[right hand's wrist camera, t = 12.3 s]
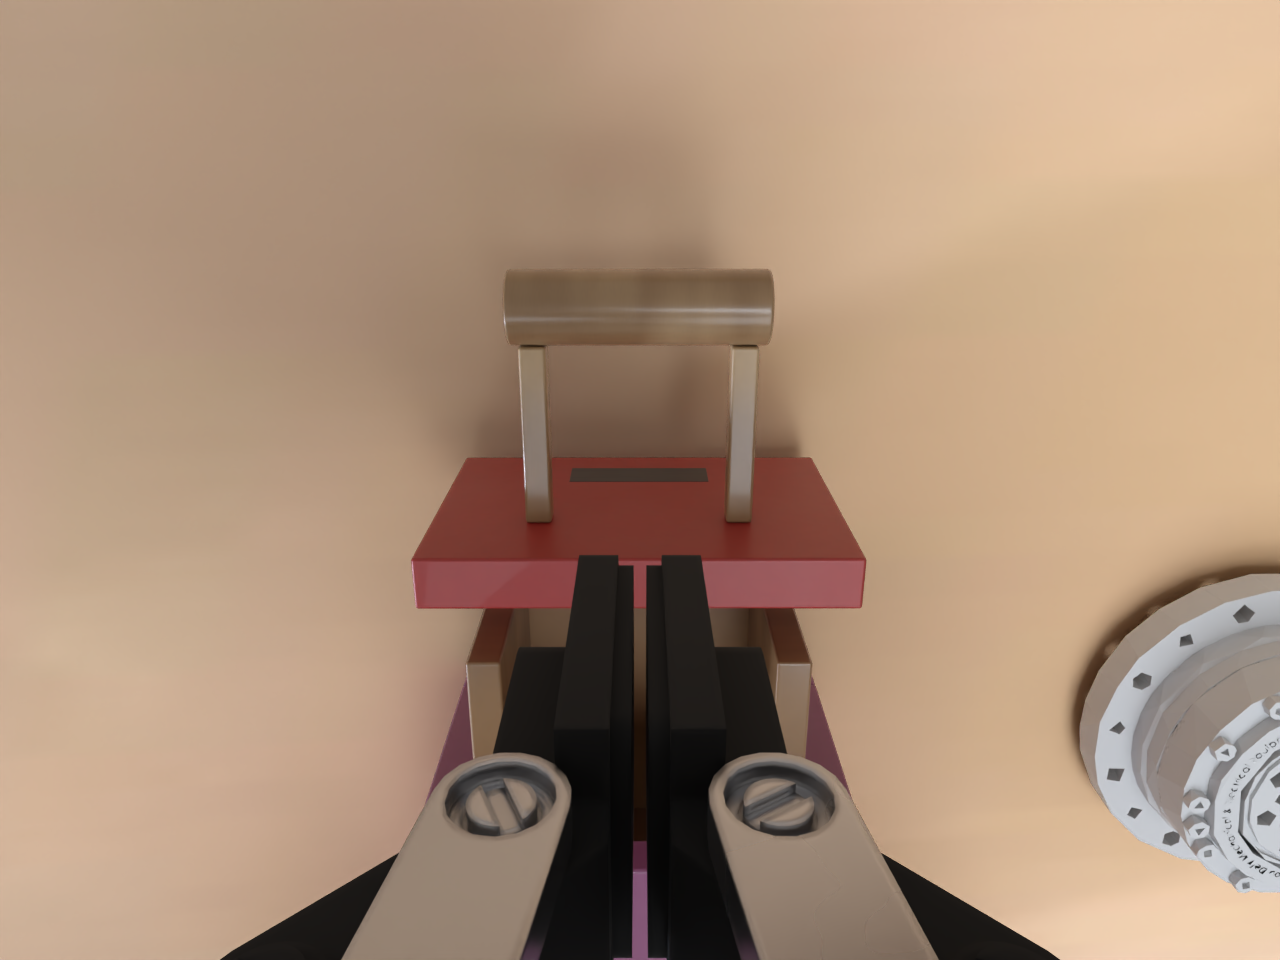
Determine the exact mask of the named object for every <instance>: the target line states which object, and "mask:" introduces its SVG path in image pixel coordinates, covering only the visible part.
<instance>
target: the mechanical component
mask: <svg viewBox="0 0 1280 960" xmlns="http://www.w3.org/2000/svg"><path fill="white" fill-rule="evenodd" d="M1080 751H1081V754H1082V758H1083V761H1084V764H1085V767H1086V770H1087V773H1088V776H1089V779H1090V782H1091V784H1092V786H1093V787H1094V789H1095V790H1096V792H1097V793H1098V794H1099V796H1100V797H1101V799H1102V800H1103V802H1104V803H1105V805H1106V806H1107V808H1108V809H1109V811H1110V812H1111V814H1113V815H1114V816H1115V817H1116V818H1117V819H1118V820H1119V821H1120V822H1121V823H1122V824H1123V825H1124V826H1125V827H1126V828H1127V829H1128V830H1129V831H1130V832H1131V833H1132V834H1133V835H1134V836H1135V837H1136V838H1137V839H1138V840H1140V841H1142V842H1144V843H1146V844H1149V845H1151V846H1153V847H1156V848H1158V849H1160V850H1162V851H1165V852H1167V853H1169V854H1171V855H1174V856H1176V857H1178V858H1181V859H1189V860H1198V861H1200V862H1201V863H1202V864H1203V865H1204V866H1205V868H1206V869H1207V870H1208V871H1210V872H1211V873H1213V874H1215V875H1216V876H1218V877H1219V878H1221V879H1223V880H1224V881H1226V882H1228V883H1231V884H1232V885H1233V886H1234V888H1235V889H1236V890H1237V891H1238V892H1242V893H1247V892H1249V891H1251V890H1254V891H1257V892H1280V574H1249V575H1245V576H1242V577H1238V578H1234V579H1230V580H1227V581H1223V582H1219V583H1215V584H1211V585H1208V586H1204V587H1200V588H1198V589H1196V590H1194V591H1192V592H1191V593H1189V594H1187V595H1185V596H1183V597H1181V598H1179V599H1177V600H1175V601H1173V602H1172V603H1170V604H1168V605H1166V606H1164V607H1162V608H1160V609H1158V610H1157V611H1156V612H1155V613H1154V614H1152V615H1151V616H1150V617H1149V618H1147V619H1146V620H1145V621H1144V622H1142V623H1141V624H1140V625H1139V626H1137V627H1136V628H1135V629H1134V630H1132V631H1131V632H1130V633H1129V634H1127V635H1126V636H1125V637H1124V639H1123V640H1122V641H1121V642H1120V644H1119V645H1118V646H1117V648H1116V649H1115V650H1114V651H1113V653H1112V654H1111V655H1110V657H1109V658H1108V659H1107V661H1106V662H1105V663H1104V664H1103V666H1102V667H1101V668H1100V670H1099V671H1098V673H1097V676H1096V678H1095V680H1094V682H1093V684H1092V686H1091V689H1090V691H1089V693H1088V695H1087V697H1086V699H1085V704H1084V708H1083V713H1082V718H1081V722H1080Z"/></svg>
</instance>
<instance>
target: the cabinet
mask: <svg viewBox="0 0 1280 960" xmlns="http://www.w3.org/2000/svg"><path fill="white" fill-rule="evenodd" d="M805 759H807V760H810V761H812V762H814V763H817V764H819V765H821V766H822V767H824V768H825V769H827V770H828V771H829V772H831V773H832V774H834V775H835V776H836V777H837V778H838V780H839V781H840V782H841V783H842V785H843V786H844V787H845V788H846V790H847V792H848V793H849V795H850V792H849V789H848V785H847V782H846V779H845V776H844V773H843V770H842V767H841V764H840V761H839V758H838V754H837V751H836V748H835V745H834V742H833V739H832V736H831V733H830V730H829V727H828V723H827V720H826V717H825V714H824V711H823V708H822V705H821V702H820V699H819V695H818V692H817V689H816V686H815V684H814V681H813V678H812V675H811V688H810V701H809V715H808V728H807V741H806V754H805ZM470 760H473V752H472V739H471V727H470V714H469V701H468V688H467V677H466V680H465V683H464V687H463V689H462V692H461V695H460V698H459V701H458V704H457V707H456V711H455V714H454V717H453V720H452V723H451V726H450V729H449V732H448V735H447V738H446V741H445V744H444V747H443V751H442V754H441V757H440V760H439V763H438V766H437V769H436V772H435V775H434V778H433V781H432V784H431V788H430V791H429V794H428V797H427V800H426V803H427V801H428V799H429V797H430V795H431V793H432V792H433V790H434V788H435V787H436V786H437V785H438V783H439V782H440V781H441V780H442V778H443V777H444V776H445V775H446V774H448V773H449V772H451V771H452V770H453V769H455V768H456V767H458V766H459V765H461V764H463V763H466V762H468V761H470ZM850 797H851V795H850ZM851 799H852V798H851ZM426 803H425V804H426ZM614 960H666V958H648V927H647V841H633V927H632V958H614Z"/></svg>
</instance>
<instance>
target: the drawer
mask: <svg viewBox="0 0 1280 960" xmlns="http://www.w3.org/2000/svg"><path fill="white" fill-rule="evenodd" d="M503 321H504V330H505V335H506V339H507V342H508V344H510V345H520V346H519V348H518V365H519V386H520V407H521V428H522V448H523V458H467V459H466V461H465V463H464V464H463V466H462V468H461V470H460V472H459V474H458V475H457V477H456V479H455V481H454V483H453V485H452V486H451V488H450V490H449V492H448V494H447V495H446V497H445V499H444V501H443V503H442V505H441V506H440V508H439V510H438V512H437V514H436V516H435V517H434V519H433V521H432V523H431V525H430V527H429V528H428V530H427V532H426V534H425V536H424V537H423V539H422V541H421V543H420V545H419V547H418V548H417V550H416V552H415V554H414V556H413V558H412V560H411V564H412V575H413V585H414V595H415V605H416V608H484V611H483V614H482V617H481V620H480V623H479V626H478V629H477V632H476V635H475V638H474V641H473V644H472V647H471V650H470V653H469V656H468V659H467V662H466V675H467V688H468V701H469V714H470V727H471V739H472V752H473V759H475V758H478V757H481V756H486V755H491V754H493V750H494V746H495V742H496V738H497V734H498V730H499V725H500V721H501V717H502V713H503V709H504V705H505V700H506V696H507V692H508V688H509V684H510V680H511V676H512V671H513V667H514V663H515V659H516V655H517V652H518V649H519V648H520V647H566V640H567V633H568V627H569V620H570V613H571V606H572V599H573V593H574V586H575V579H576V572H577V565H578V559H579V555H618V558H619V565H634V822H633V841H647V822H646V565H661V558H662V555H701V559H702V565H703V572H704V579H705V586H706V593H707V599H708V606H709V613H710V620H711V627H712V633H713V640H714V647H760V648H761V649H762V652H763V655H764V659H765V663H766V667H767V671H768V676H769V680H770V684H771V688H772V692H773V696H774V700H775V705H776V709H777V713H778V717H779V721H780V725H781V730H782V734H783V738H784V742H785V746H786V750H787V754H789V755H794V756H799V757H802V758H805V754H806V741H807V728H808V715H809V701H810V688H811V675H812V661H811V658H810V655H809V652H808V649H807V646H806V643H805V640H804V637H803V634H802V631H801V628H800V625H799V622H798V619H797V616H796V613H795V610H794V608H861V607H862V601H863V590H864V580H865V569H866V558H865V556H864V555H863V553H862V551H861V549H860V547H859V545H858V543H857V542H856V540H855V538H854V536H853V534H852V532H851V531H850V529H849V527H848V525H847V523H846V521H845V519H844V518H843V516H842V514H841V512H840V510H839V508H838V507H837V505H836V503H835V501H834V499H833V497H832V495H831V494H830V492H829V490H828V488H827V486H826V484H825V483H824V481H823V479H822V477H821V475H820V473H819V471H818V470H817V468H816V466H815V464H814V462H813V460H812V459H811V458H755V438H756V416H757V394H758V372H759V351H760V350H759V347H758V346H757V345H767V344H769V342H770V339H771V336H772V331H773V322H774V282H773V276H772V273H771V271H770V270H768V269H509V270H507V271H506V274H505V277H504V283H503ZM548 345H730V351H729V381H728V410H727V439H726V458H552V451H551V424H550V396H549V369H548Z"/></svg>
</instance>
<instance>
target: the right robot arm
mask: <svg viewBox="0 0 1280 960" xmlns="http://www.w3.org/2000/svg"><path fill="white" fill-rule="evenodd" d="M633 822H634V565H619V558H618V555H579V559H578V565H577V572H576V579H575V586H574V593H573V599H572V606H571V613H570V620H569V627H568V633H567V640H566V647H520V648H519V649H518V652H517V655H516V659H515V663H514V667H513V671H512V676H511V680H510V684H509V688H508V692H507V696H506V700H505V705H504V709H503V713H502V717H501V721H500V725H499V730H498V734H497V738H496V742H495V746H494V750H493V754H491V755H486V756H481V757H478V758H475V759H473V760H470V761H468V762H466V763H463V764H461V765H459V766H458V767H456V768H455V769H453V770H452V771H451V772H449V773H448V774H446V775H445V776H444V777H443V778H442V780H441V781H440V782H439V783H438V785H437V786H436V787H435V788H434V790H433V792H432V793H431V795H430V797H429V799H428V801H427V803H426V804H425V806H424V808H423V810H422V812H421V814H420V816H419V817H418V819H417V821H416V823H415V825H414V827H413V828H412V830H411V832H410V834H409V836H408V838H407V839H406V841H405V843H404V845H403V847H402V849H401V851H400V852H399V853H398V854H396V855H394V856H393V857H391V858H389V859H388V860H386V861H384V862H383V863H381V864H379V865H377V866H376V867H374V868H372V869H371V870H369V871H367V872H366V873H364V874H362V875H360V876H359V877H357V878H355V879H354V880H352V881H350V882H349V883H347V884H345V885H343V886H342V887H340V888H338V889H337V890H335V891H333V892H332V893H330V894H328V895H326V896H325V897H323V898H321V899H320V900H318V901H316V902H315V903H313V904H311V905H309V906H308V907H306V908H304V909H303V910H301V911H299V912H298V913H296V914H294V915H292V916H291V917H289V918H287V919H286V920H284V921H282V922H281V923H279V924H277V925H275V926H274V927H272V928H270V929H269V930H267V931H265V932H264V933H262V934H260V935H258V936H257V937H255V938H253V939H252V940H250V941H248V942H247V943H245V944H243V945H241V946H240V947H238V948H236V949H235V950H233V951H231V952H230V953H229V954H227V955H226V956H225V957H223V958H222V959H220V960H614V958H632V927H633ZM646 822H647V927H648V958H666V960H1060V959H1058V958H1057V957H1055V956H1054V955H1053V954H1051V953H1050V952H1049V951H1047V950H1045V949H1044V948H1042V947H1040V946H1039V945H1037V944H1035V943H1033V942H1032V941H1030V940H1028V939H1027V938H1025V937H1023V936H1022V935H1020V934H1018V933H1016V932H1015V931H1013V930H1011V929H1010V928H1008V927H1006V926H1005V925H1003V924H1001V923H999V922H998V921H996V920H994V919H993V918H991V917H989V916H988V915H986V914H984V913H982V912H981V911H979V910H977V909H976V908H974V907H972V906H971V905H969V904H967V903H965V902H964V901H962V900H960V899H959V898H957V897H955V896H954V895H952V894H950V893H948V892H947V891H945V890H943V889H942V888H940V887H938V886H937V885H935V884H933V883H931V882H930V881H928V880H926V879H925V878H923V877H921V876H920V875H918V874H916V873H914V872H913V871H911V870H909V869H908V868H906V867H904V866H903V865H901V864H899V863H897V862H896V861H894V860H892V859H891V858H889V857H887V856H886V855H884V854H882V853H881V852H880V851H879V849H878V847H877V845H876V843H875V841H874V839H873V838H872V836H871V834H870V832H869V830H868V828H867V827H866V825H865V823H864V821H863V819H862V817H861V816H860V814H859V812H858V810H857V808H856V806H855V804H854V803H853V801H852V799H851V797H850V795H849V793H848V792H847V790H846V788H845V787H844V786H843V785H842V783H841V782H840V781H839V780H838V778H837V777H836V776H835V775H834V774H832V773H831V772H829V771H828V770H827V769H825V768H824V767H822V766H821V765H819V764H817V763H814V762H812V761H810V760H807V759H805V758H802V757H799V756H794V755H789V754H787V750H786V746H785V742H784V738H783V734H782V730H781V725H780V721H779V717H778V713H777V709H776V705H775V700H774V696H773V692H772V688H771V684H770V680H769V676H768V671H767V667H766V663H765V659H764V655H763V652H762V649H761V648H760V647H714V640H713V633H712V627H711V620H710V613H709V606H708V599H707V593H706V586H705V579H704V572H703V565H702V559H701V555H662V558H661V565H646Z"/></svg>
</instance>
